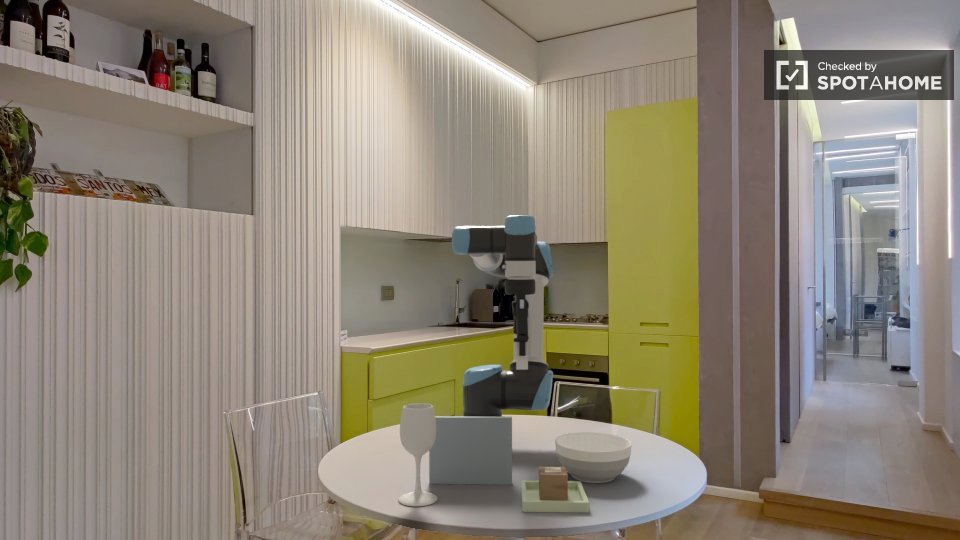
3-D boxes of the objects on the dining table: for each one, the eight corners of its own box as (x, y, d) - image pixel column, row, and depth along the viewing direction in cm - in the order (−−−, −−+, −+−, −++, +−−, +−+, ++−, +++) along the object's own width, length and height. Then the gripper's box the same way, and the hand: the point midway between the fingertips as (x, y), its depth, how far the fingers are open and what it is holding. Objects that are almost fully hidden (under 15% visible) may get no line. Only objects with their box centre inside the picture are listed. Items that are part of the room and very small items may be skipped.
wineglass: (399, 493, 144) (399, 402, 144) (437, 492, 145) (437, 401, 145) (397, 507, 135) (397, 410, 136) (437, 506, 136) (437, 409, 136)
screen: (429, 483, 151) (429, 417, 151) (430, 481, 152) (429, 416, 153) (512, 484, 150) (511, 417, 150) (512, 482, 152) (511, 416, 152)
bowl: (585, 493, 144) (585, 455, 144) (540, 471, 161) (540, 437, 161) (648, 481, 153) (647, 445, 153) (599, 461, 169) (599, 429, 170)
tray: (520, 489, 147) (520, 480, 147) (580, 490, 146) (580, 481, 146) (522, 511, 133) (522, 501, 133) (588, 512, 132) (588, 502, 132)
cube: (539, 492, 143) (538, 465, 143) (565, 493, 142) (565, 465, 143) (540, 502, 137) (540, 473, 137) (567, 502, 136) (567, 474, 137)
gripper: (503, 276, 166) (503, 356, 167) (506, 280, 141) (507, 373, 142) (531, 276, 166) (531, 356, 167) (539, 280, 141) (540, 373, 142)
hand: (520, 364), depth 154 cm, fingers open, 13 cm apart
